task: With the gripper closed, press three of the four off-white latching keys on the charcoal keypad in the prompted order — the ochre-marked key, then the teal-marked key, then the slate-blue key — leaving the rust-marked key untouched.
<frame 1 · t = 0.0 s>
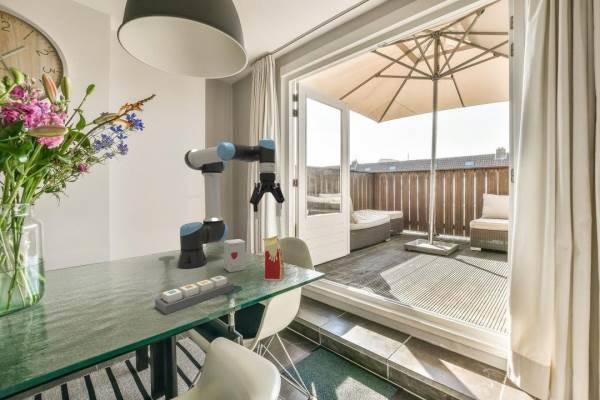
hand: (268, 217, 124), 28 cm above the table, fingers open, 13 cm apart
key slate: (218, 281, 108), point 4 cm above the table, slide at 0.0 cm
milk carton: (273, 278, 123), on the table
key ochre: (204, 285, 103), point 4 cm above the table, slide at 0.0 cm
supplement box: (235, 269, 138), on the table
key rust: (189, 290, 98), point 4 cm above the table, slide at 0.0 cm
keypad: (197, 298, 101), on the table
key teal: (172, 295, 94), point 4 cm above the table, slide at 0.0 cm
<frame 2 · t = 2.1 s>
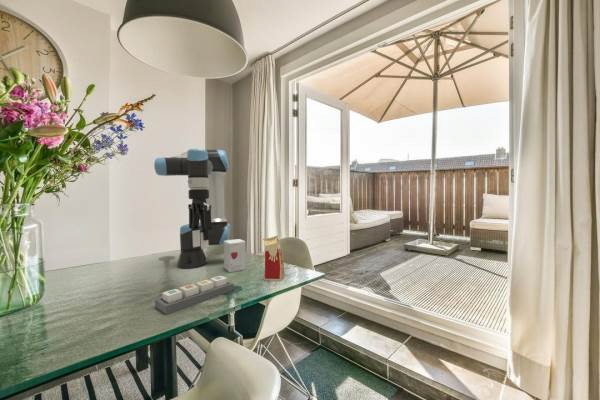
hand: (200, 247, 104), 19 cm above the table, fingers open, 6 cm apart
nothing on the table moved.
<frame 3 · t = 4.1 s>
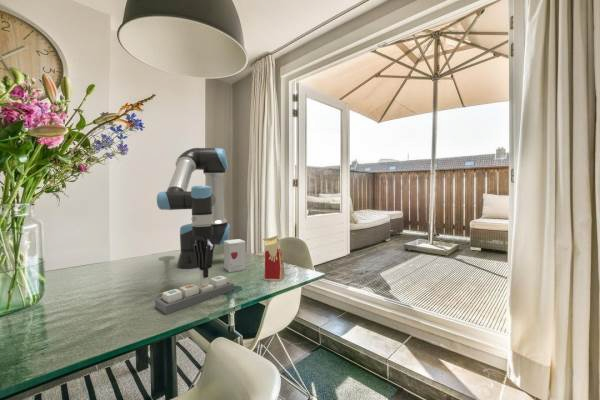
hand: (204, 285, 103), 4 cm above the table, fingers closed
key ochre: (204, 289, 103), point 3 cm above the table, slide at 1.4 cm, touching gripper
everything else where it was.
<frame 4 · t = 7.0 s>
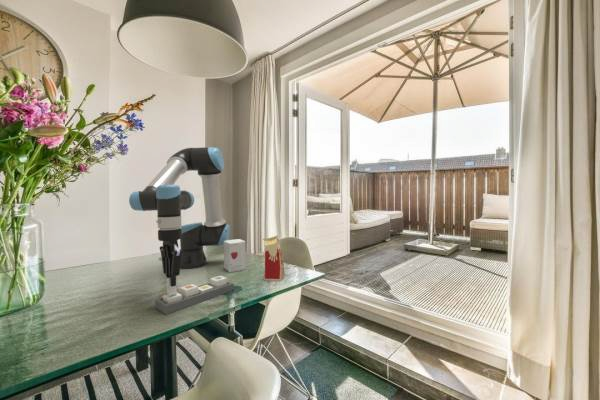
hand: (172, 294, 93), 4 cm above the table, fingers closed
key ochre: (204, 290, 103), point 2 cm above the table, slide at 2.1 cm
key teal: (172, 298, 94), point 3 cm above the table, slide at 1.1 cm, touching gripper
everything else where it was.
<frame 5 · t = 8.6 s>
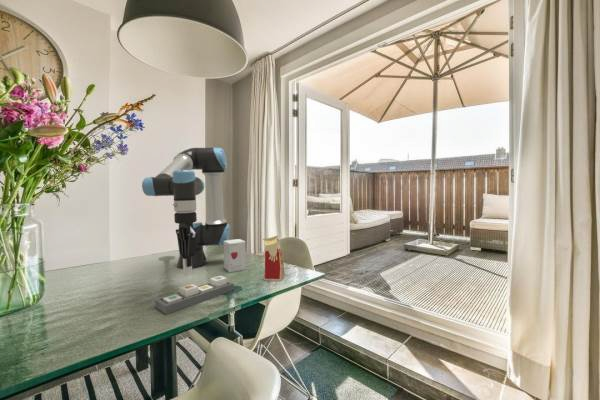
hand: (187, 274, 98), 10 cm above the table, fingers closed
key teal: (172, 301, 94), point 2 cm above the table, slide at 2.0 cm
everything else where it was.
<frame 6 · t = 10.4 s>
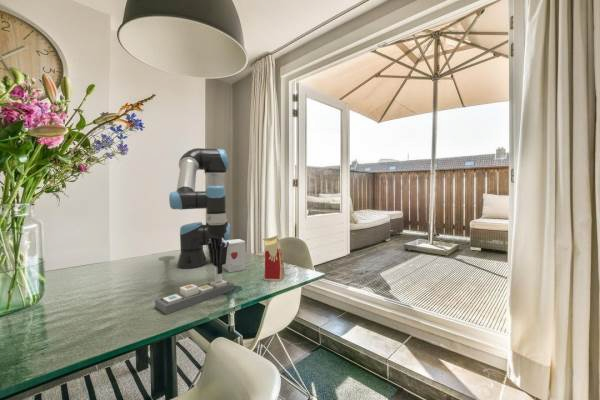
hand: (218, 281, 108), 4 cm above the table, fingers closed
key slate: (218, 284, 108), point 2 cm above the table, slide at 1.5 cm, touching gripper
everything else where it was.
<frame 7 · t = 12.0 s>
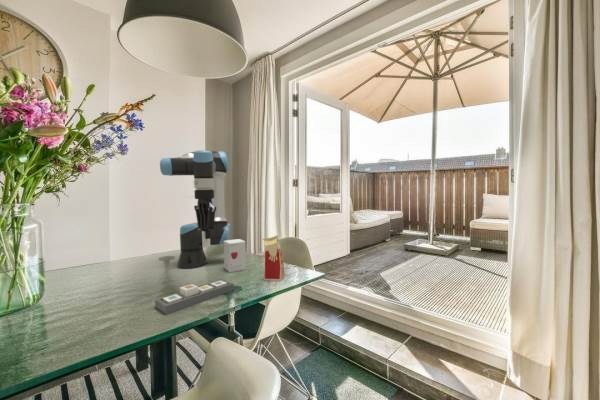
hand: (206, 246, 108), 18 cm above the table, fingers closed
key slate: (218, 286, 108), point 2 cm above the table, slide at 2.1 cm
everything else where it was.
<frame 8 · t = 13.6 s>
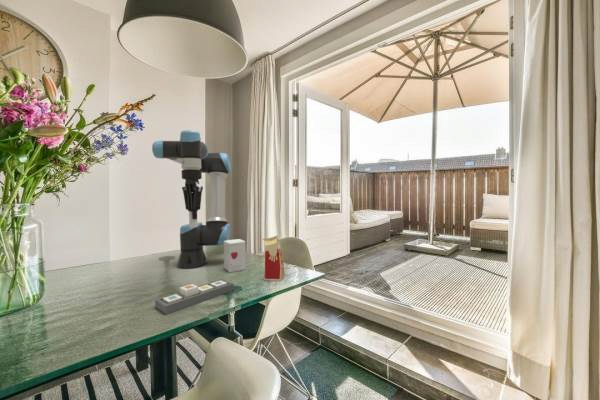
hand: (193, 227, 108), 26 cm above the table, fingers closed
nothing on the table moved.
at the end: key ochre slide at 2.1 cm; key teal slide at 2.0 cm; key slate slide at 2.1 cm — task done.
